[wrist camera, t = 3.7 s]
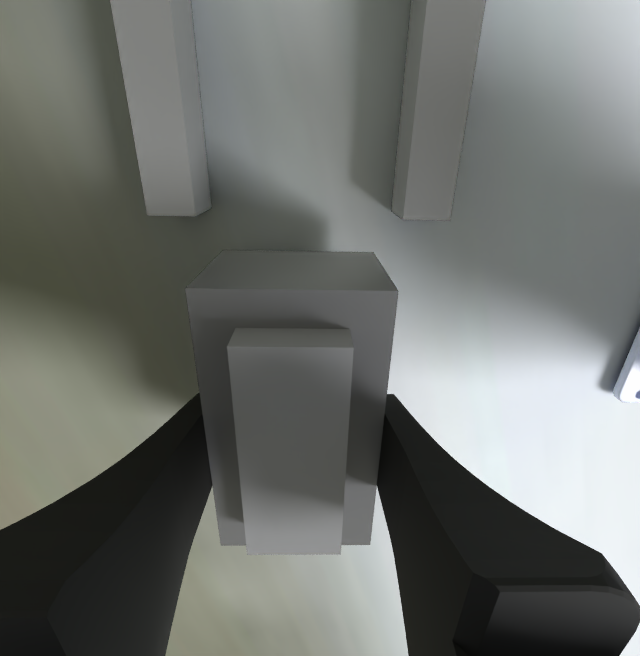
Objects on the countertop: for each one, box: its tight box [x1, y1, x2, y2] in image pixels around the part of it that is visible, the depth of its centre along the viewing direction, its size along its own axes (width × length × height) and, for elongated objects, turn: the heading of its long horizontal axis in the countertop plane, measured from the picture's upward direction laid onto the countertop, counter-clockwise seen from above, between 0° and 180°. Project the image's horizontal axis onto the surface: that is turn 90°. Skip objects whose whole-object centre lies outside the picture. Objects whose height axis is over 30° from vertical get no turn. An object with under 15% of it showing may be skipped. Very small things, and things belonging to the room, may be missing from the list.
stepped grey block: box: [185, 250, 398, 555], centre depth 12 cm, size 5×9×5 cm, turn 179°
